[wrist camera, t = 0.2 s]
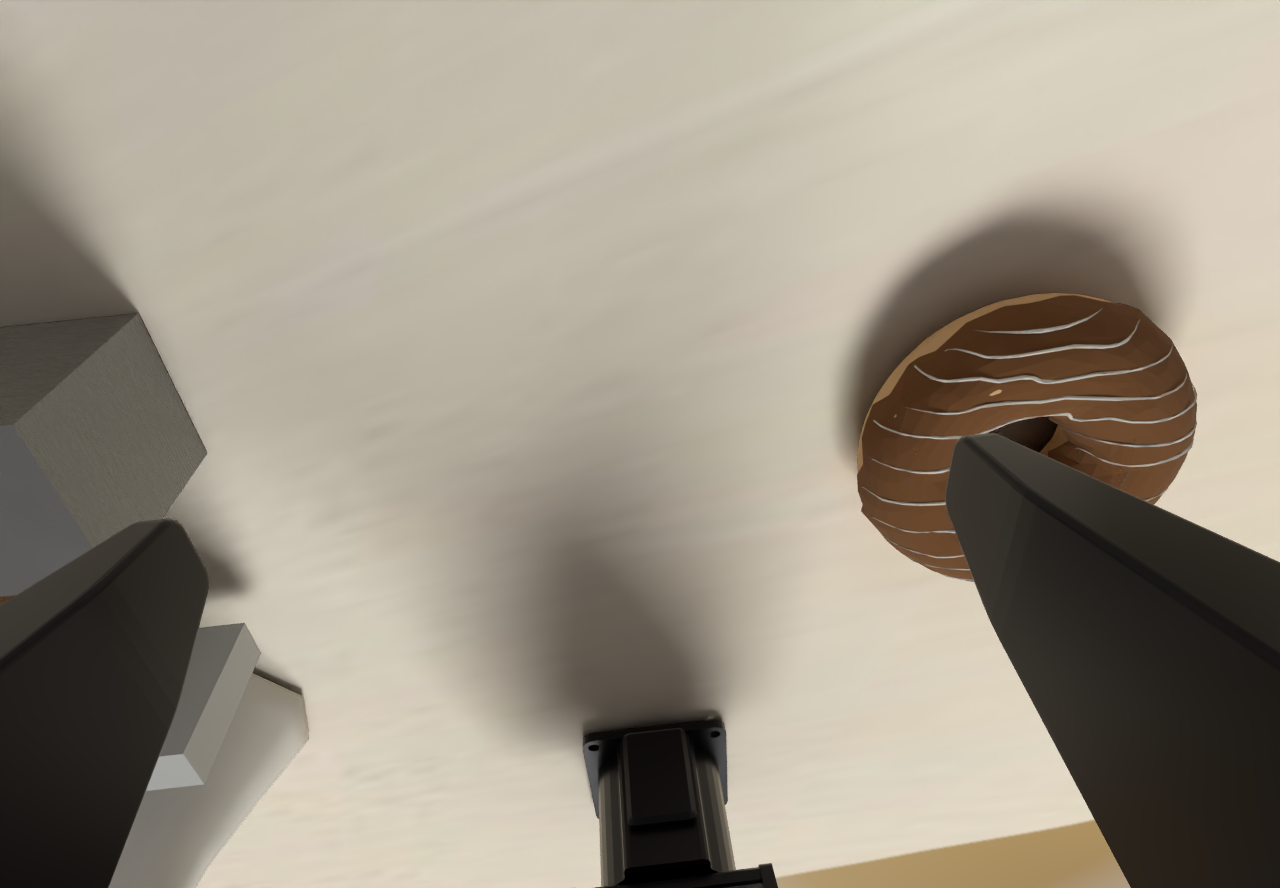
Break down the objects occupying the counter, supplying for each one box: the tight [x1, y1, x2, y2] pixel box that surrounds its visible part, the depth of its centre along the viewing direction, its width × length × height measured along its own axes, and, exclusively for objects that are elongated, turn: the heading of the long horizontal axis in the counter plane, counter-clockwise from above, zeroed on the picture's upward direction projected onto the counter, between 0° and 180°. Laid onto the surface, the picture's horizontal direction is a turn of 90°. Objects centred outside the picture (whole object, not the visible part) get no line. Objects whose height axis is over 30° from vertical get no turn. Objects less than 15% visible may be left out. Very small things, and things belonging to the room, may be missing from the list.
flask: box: [109, 673, 309, 888], centre depth 28 cm, size 7×7×10 cm
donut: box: [857, 293, 1197, 582], centre depth 25 cm, size 11×11×4 cm
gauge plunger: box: [146, 623, 261, 791], centre depth 24 cm, size 5×12×5 cm, turn 95°
